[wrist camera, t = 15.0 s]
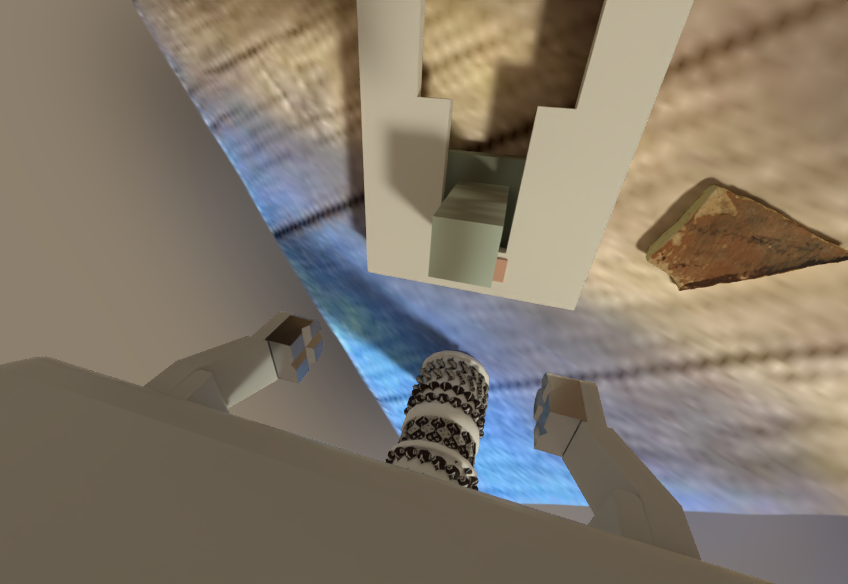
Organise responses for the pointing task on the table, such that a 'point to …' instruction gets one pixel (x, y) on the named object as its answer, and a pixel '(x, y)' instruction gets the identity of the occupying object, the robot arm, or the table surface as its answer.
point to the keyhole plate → (546, 158)
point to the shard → (736, 243)
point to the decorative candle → (444, 419)
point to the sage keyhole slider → (474, 215)
